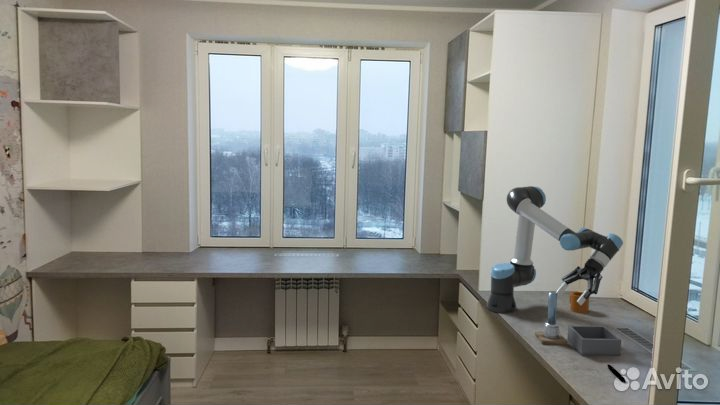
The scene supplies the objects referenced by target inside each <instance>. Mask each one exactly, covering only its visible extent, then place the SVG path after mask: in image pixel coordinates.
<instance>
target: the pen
mask: <svg viewBox="0 0 720 405" xmlns="http://www.w3.org/2000/svg"><path fill="white" fill-rule="evenodd" d="M607 368H608V370H609V372H611V373H612V374H613V375H614V376H615V377H616V378H617V379H618V380H619V381H620V382H621V383H626V379H625V377H624V376H623V375H622V374H621V373H620V372H619V371H618V370H616V368H614V366H612V365H611V364H610V363H609V364H607Z"/></svg>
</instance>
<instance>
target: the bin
mask: <svg viewBox="0 0 720 405" xmlns="http://www.w3.org/2000/svg"><path fill="white" fill-rule="evenodd" d="M566 340H567V341H568V343H569V344H570V345H571V346H572V347H573V349H574V350H576V352H577V353H578V354H579V355H580V356H584V357H585V356H587V357H589V356H590V357H591V356H593V357H621V351H622V339H621V338H620V337H618V336H617V335H616V334H615V333H614V332H612V330H610V328H608V327H606V326H605V325H568V326H567V337H566Z"/></svg>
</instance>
